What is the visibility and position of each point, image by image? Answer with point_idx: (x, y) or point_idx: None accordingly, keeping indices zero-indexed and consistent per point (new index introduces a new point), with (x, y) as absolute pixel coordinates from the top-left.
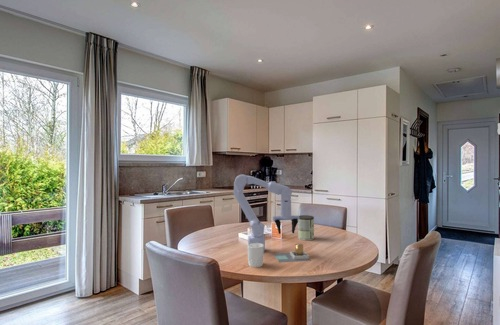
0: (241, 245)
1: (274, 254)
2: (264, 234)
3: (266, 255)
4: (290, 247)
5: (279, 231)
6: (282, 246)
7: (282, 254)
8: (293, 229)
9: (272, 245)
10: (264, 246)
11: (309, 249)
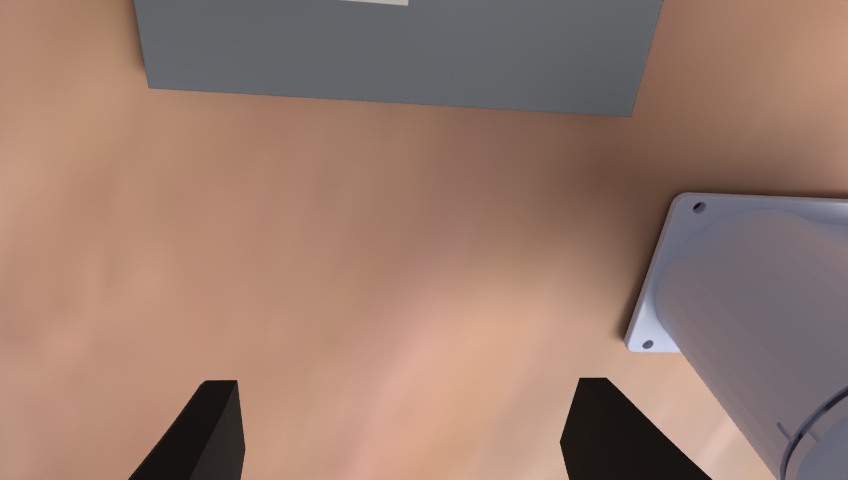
0: (768, 472)
1: (639, 69)
2: (811, 454)
3: (717, 116)
4: (280, 360)
5: (640, 417)
6: (370, 403)
7: (523, 39)
8: (195, 458)
9: (471, 443)
10: (723, 279)
11: (12, 249)
